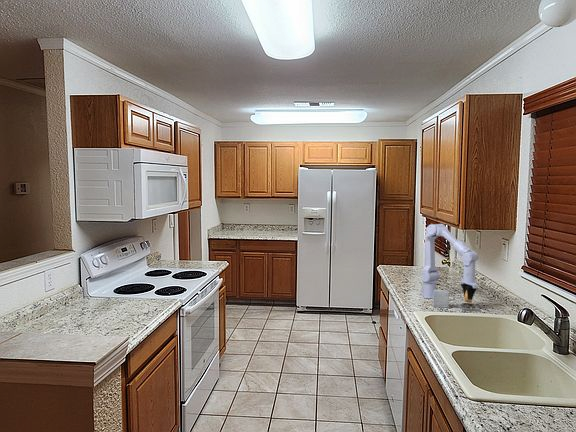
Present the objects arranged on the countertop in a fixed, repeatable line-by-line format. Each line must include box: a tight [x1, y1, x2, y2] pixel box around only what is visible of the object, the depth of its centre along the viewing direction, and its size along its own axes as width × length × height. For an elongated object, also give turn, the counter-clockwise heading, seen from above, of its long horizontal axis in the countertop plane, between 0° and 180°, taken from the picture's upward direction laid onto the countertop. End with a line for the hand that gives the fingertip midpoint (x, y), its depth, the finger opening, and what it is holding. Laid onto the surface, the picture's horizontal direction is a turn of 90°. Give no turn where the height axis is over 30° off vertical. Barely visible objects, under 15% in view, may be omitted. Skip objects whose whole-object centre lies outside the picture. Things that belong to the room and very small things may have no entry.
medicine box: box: [432, 289, 450, 309], centre depth 213 cm, size 8×4×9 cm, turn 74°
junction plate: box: [455, 302, 482, 312], centre depth 211 cm, size 10×9×2 cm
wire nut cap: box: [464, 290, 473, 303], centre depth 210 cm, size 3×3×6 cm
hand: (468, 298), depth 210 cm, fingers closed on wire nut cap, 3 cm apart
